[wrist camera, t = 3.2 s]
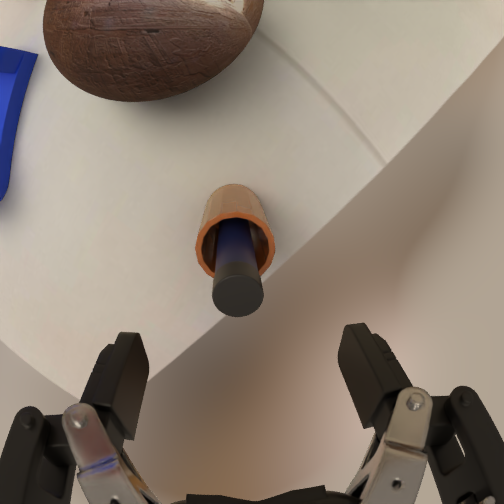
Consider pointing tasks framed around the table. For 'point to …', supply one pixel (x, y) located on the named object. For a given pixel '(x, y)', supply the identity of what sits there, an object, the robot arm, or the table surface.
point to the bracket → (11, 103)
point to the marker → (236, 270)
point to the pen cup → (230, 206)
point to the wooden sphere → (146, 43)
